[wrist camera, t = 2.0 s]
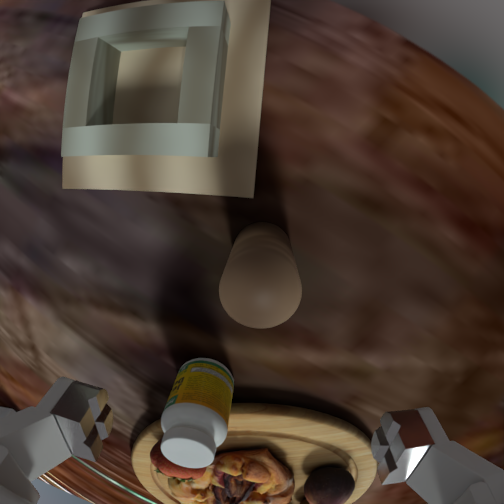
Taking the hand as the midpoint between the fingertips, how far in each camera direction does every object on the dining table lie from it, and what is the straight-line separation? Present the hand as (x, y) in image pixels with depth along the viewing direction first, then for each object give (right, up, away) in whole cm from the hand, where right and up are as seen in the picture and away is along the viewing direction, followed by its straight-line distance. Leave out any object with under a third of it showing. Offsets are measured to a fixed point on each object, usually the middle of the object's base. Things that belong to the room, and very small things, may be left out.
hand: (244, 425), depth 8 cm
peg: (+1, +5, +17) cm, 17 cm away
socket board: (-7, +17, +13) cm, 23 cm away
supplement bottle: (-4, -7, +21) cm, 22 cm away
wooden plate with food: (0, -24, +26) cm, 36 cm away
